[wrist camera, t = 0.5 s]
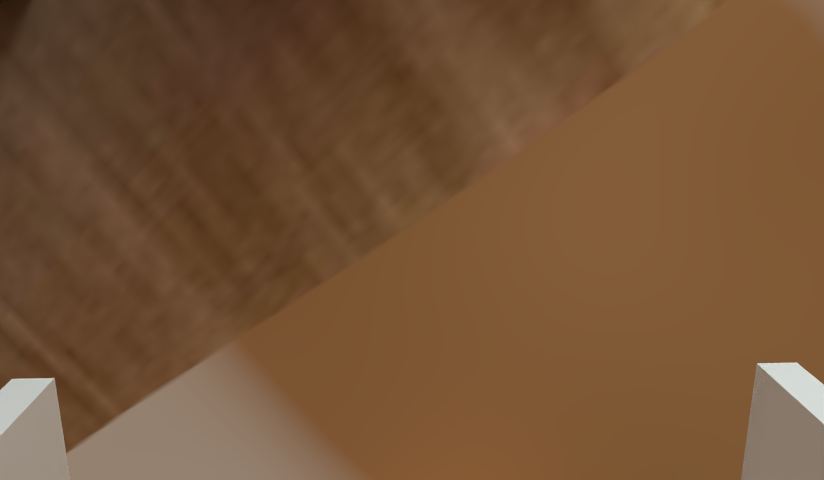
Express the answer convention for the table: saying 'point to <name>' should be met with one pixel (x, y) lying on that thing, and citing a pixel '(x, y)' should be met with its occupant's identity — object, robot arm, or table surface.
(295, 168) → the table surface
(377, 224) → the table surface
